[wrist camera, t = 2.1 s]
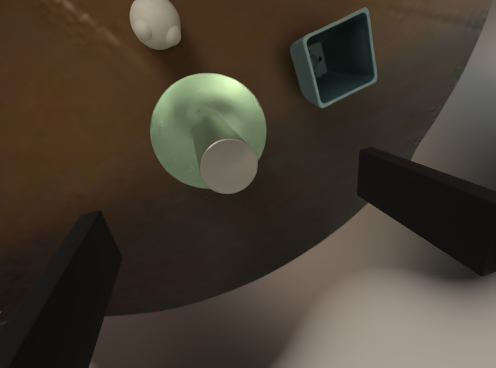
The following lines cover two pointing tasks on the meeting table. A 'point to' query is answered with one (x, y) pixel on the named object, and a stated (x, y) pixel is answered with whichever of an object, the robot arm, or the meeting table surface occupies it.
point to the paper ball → (155, 23)
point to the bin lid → (209, 132)
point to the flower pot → (335, 59)
